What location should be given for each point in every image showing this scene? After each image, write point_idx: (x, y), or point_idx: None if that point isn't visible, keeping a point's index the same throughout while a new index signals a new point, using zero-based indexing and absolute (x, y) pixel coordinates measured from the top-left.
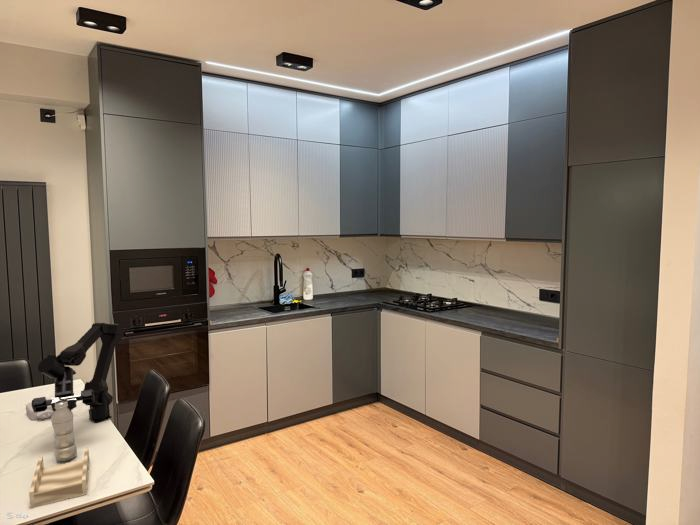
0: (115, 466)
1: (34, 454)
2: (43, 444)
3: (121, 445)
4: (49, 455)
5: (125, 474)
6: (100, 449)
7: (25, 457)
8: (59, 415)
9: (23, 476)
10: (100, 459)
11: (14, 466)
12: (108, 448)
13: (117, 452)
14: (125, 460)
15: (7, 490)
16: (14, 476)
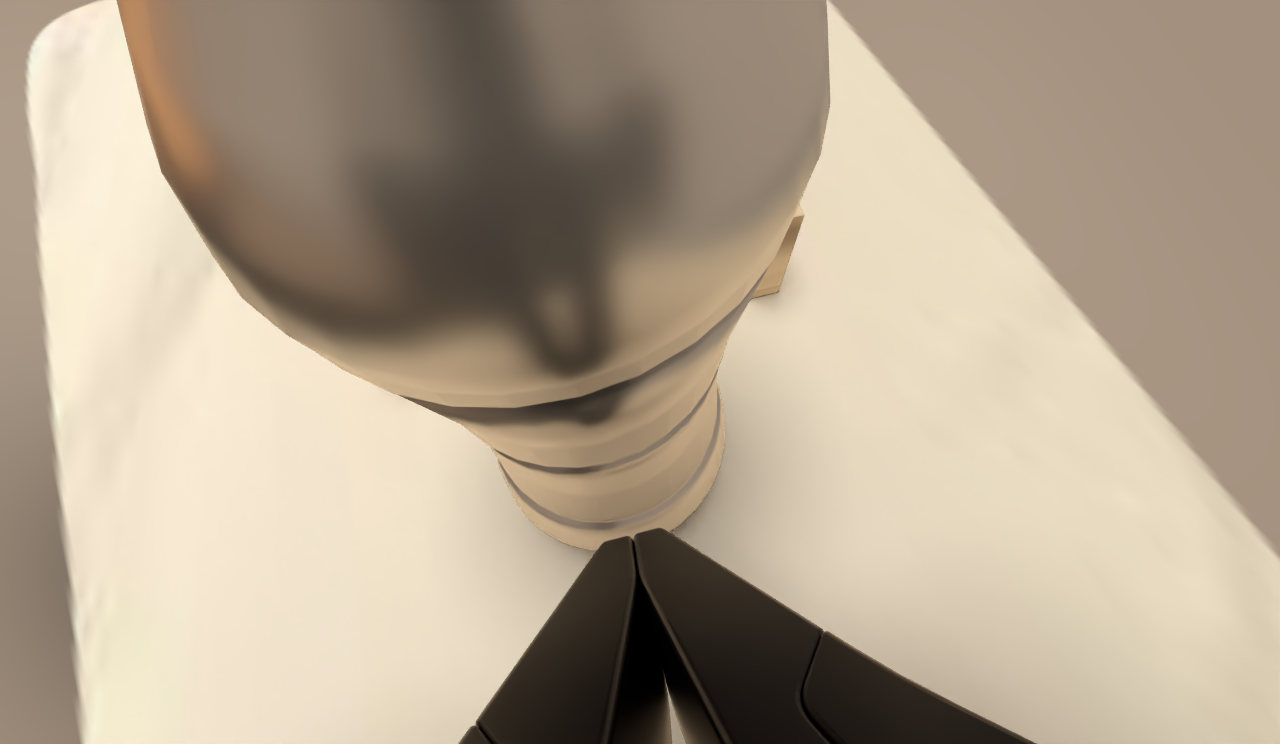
0: (193, 230)
1: (1046, 683)
2: None
3: (96, 650)
4: (840, 600)
5: (139, 117)
6: (314, 604)
7: (1110, 622)
8: None
9: (873, 228)
10: (306, 372)
11: (1086, 424)
12: (233, 606)
13: (154, 478)
14: (110, 305)
15: (877, 77)
16: (953, 243)
